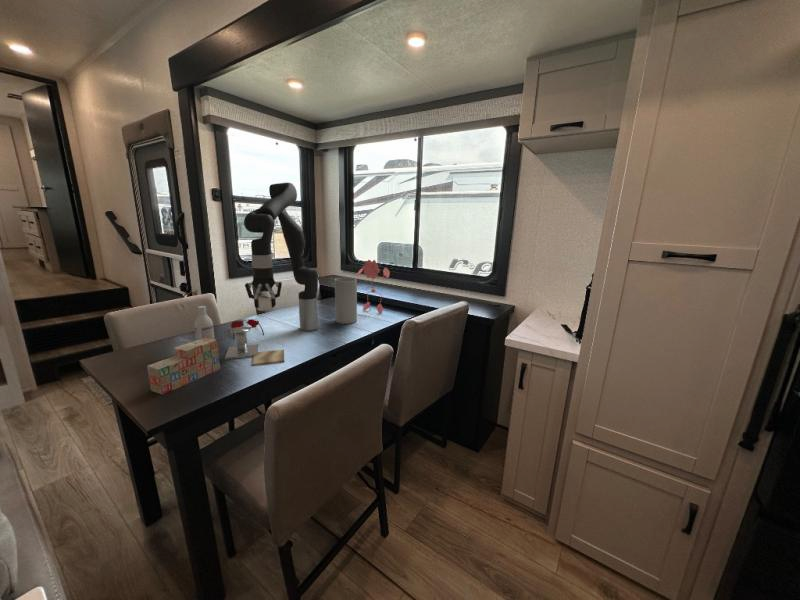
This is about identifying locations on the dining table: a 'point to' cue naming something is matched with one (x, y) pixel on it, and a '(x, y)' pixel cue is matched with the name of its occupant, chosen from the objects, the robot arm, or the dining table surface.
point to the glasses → (251, 322)
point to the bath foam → (203, 325)
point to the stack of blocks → (184, 365)
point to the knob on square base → (241, 345)
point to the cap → (264, 303)
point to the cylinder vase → (346, 300)
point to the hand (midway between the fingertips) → (265, 307)
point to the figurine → (371, 272)
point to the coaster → (268, 357)
